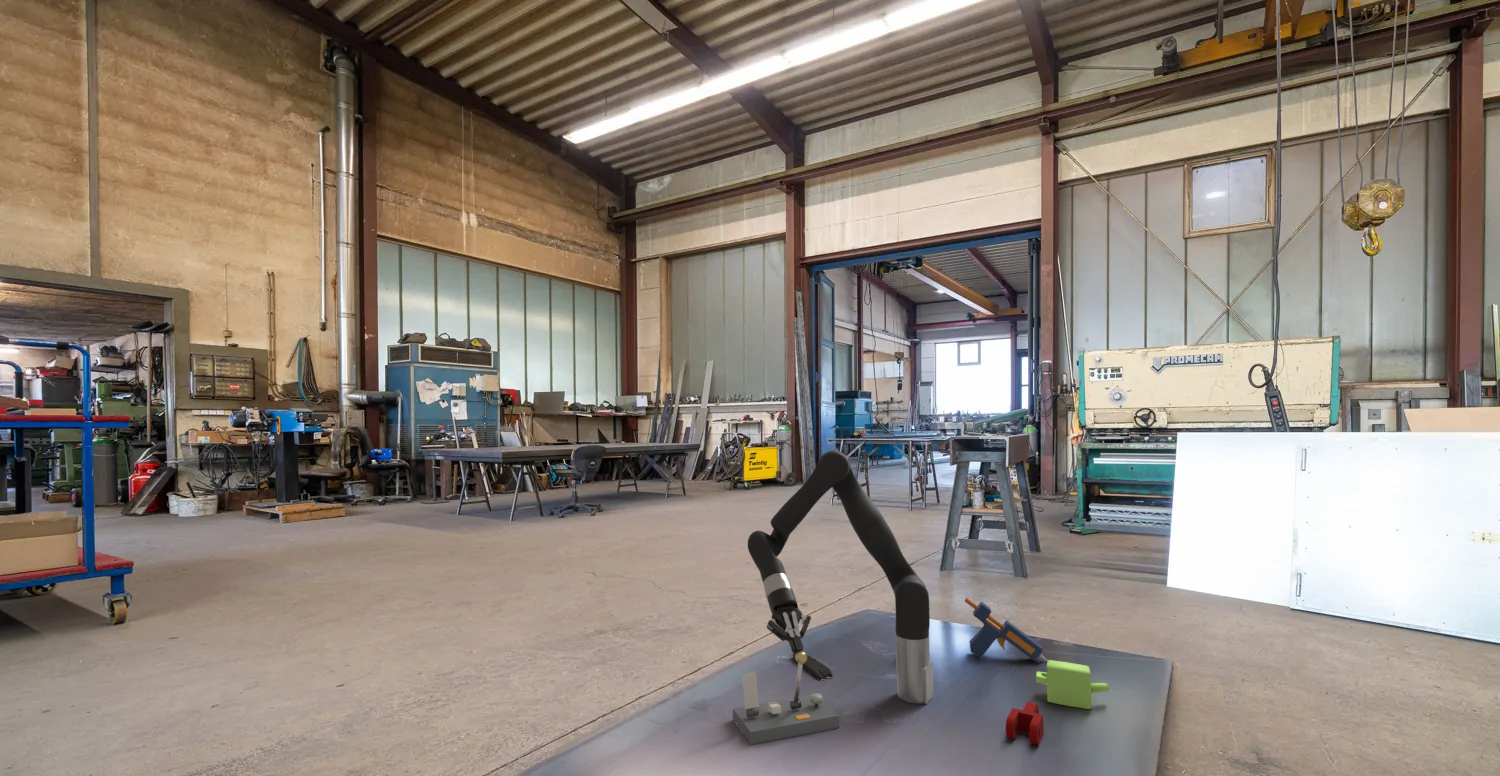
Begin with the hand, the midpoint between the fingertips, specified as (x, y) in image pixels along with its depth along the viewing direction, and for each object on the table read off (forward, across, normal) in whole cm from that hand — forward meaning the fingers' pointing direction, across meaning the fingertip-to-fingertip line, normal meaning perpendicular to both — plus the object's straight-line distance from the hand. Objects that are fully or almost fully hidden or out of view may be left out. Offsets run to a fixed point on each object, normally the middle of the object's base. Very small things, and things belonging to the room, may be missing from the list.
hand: (799, 653), depth 164 cm
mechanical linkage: (+30, +52, -2) cm, 60 cm away
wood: (-12, +20, +38) cm, 45 cm away
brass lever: (+8, 0, +12) cm, 14 cm away
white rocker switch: (+8, -6, +12) cm, 15 cm away
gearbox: (+23, +77, +4) cm, 80 cm away
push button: (+9, +6, +13) cm, 17 cm away
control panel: (+11, -3, +15) cm, 19 cm away
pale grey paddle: (+8, -12, +12) cm, 19 cm away
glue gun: (-1, +83, +26) cm, 87 cm away
